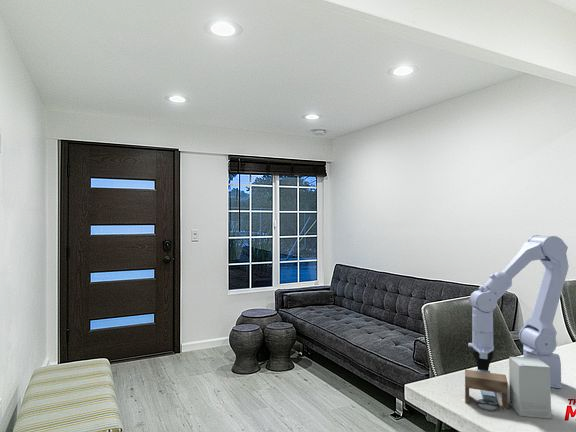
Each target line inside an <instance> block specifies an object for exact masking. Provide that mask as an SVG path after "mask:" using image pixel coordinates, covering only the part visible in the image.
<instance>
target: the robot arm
mask: <svg viewBox="0 0 576 432" xmlns="http://www.w3.org/2000/svg"><path fill="white" fill-rule="evenodd" d="M568 248H569V247H568V245H567V244H566V243H565V242H564V240H563V239H562V238H560V237H559V236H555V235H551V236H549V235H548V236H547V235H541V234H540V235H538V234H535V235H532V236H530V237H529V238H528V240H527V241H525V242H523V244H522V246H521V248H520V249H519V250H518V251H517V253H515V255H514V257H513V258H512V259H511V260H510V262H508V264H507V265H506V266H505V267H504V269H503V270H502V271H495V272H494V273H491V274H489V278H488V279H487V281H486V282H485V283H484V284H483V285H479V287H478V289H477V290H474V291H473V292H471V294H470V297H469V298H468V303H469V305H470V306H471V307H472V309H471V310H472V312H471V313H472V314H471V315H472V316H471V317H472V318H471V321H472V322H471V324H472V325H471V327H472V328H471V331H472V332H471V333H472V335H471V336H472V340H471V341H472V342H468V345H467V346H468V347H469V348H472V349H473V350H472V356H473V357H474V360H475V363H476V367H477V369H479V370H488V371H489V367H490V364H491V362H492V360H493V359H494V352H493V351H494V350H495V346H494V310H495V309H496V308H497V306H498V301H499V300H500V298H502V296H503V295H504V294H505V293H506V292H507V291H508V290H509V289H510V288H511V287H512V285H513V279H514V278H515V277H516V276H517V275H518V274H520V273H521V271H522V270H524V269H525V268H526V266H528V265H529V264H530V263H531V262H534V261H540V262H541V263H542V265H543V266H544V267H545V269H544V270H545V271H544V274H543V276H542V280H541V284H540V287H539V291H538V295H537V298H536V302H535V305H534V308H533V312H532V316H530V318H528V319H527V320H526V321H525V323H524V325H523V326H522V328H521V329H520V330H519V332H518V339H519V341H520V342H521V344H522V346H523V349H522V350H523V357H529V358H539V359H540V360H541V361H543V362H544V363H545V364H547V365H548V366H549V367H550V382H551V388H553V389H554V388H555V389H563V387H562V362H561V357H560V355H559V354H558V353H554V352H555V350H556V349H557V346H558V345H557V339H556V338H557V337H556V336H557V335H558V334H557V329H556V328H555V326H554V320H555V316H556V313H557V309H558V305H559V303H560V300H561V299H560V298H561V296H562V292H563V289H564V284H565V282H566V278H567V274H568V271H569V266H570V265H569V261H568V256H567V252H568Z"/></svg>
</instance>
